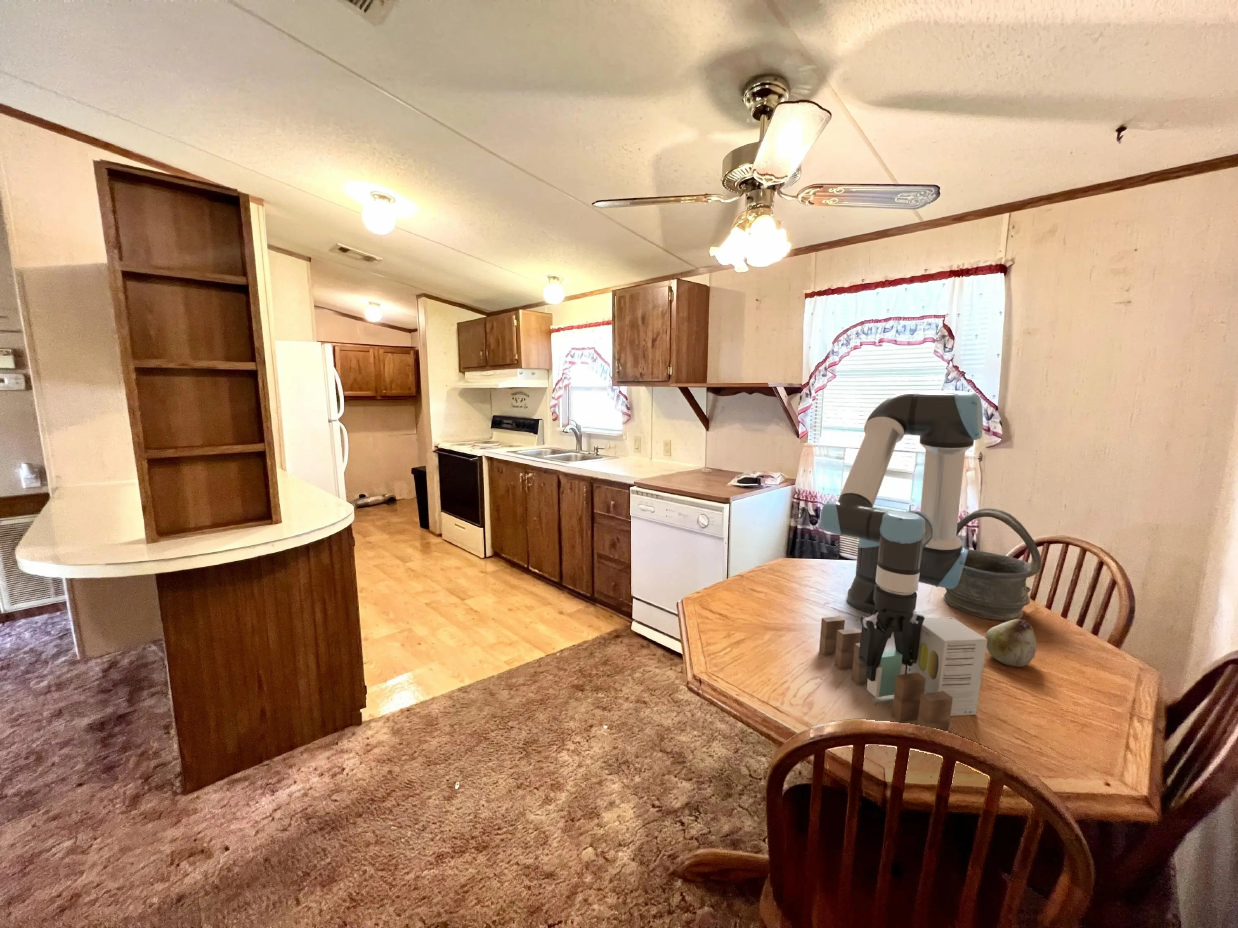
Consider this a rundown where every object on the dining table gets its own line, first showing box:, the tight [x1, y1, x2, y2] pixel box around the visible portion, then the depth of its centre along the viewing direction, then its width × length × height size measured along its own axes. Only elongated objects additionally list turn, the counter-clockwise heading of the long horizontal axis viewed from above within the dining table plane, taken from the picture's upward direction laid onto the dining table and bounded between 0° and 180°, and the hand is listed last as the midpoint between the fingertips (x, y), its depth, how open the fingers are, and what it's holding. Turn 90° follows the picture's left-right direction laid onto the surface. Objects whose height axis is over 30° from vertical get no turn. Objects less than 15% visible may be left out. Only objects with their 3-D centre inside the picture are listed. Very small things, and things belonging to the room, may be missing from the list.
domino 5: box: [916, 691, 953, 732], centre depth 89 cm, size 5×2×9 cm, turn 102°
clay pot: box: [943, 507, 1043, 622], centre depth 142 cm, size 22×23×30 cm
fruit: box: [984, 618, 1038, 668], centre depth 114 cm, size 10×9×12 cm
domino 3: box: [851, 643, 868, 687], centre depth 106 cm, size 5×2×9 cm, turn 102°
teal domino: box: [878, 649, 902, 698], centre depth 100 cm, size 5×2×9 cm, turn 102°
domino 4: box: [891, 672, 926, 723], centre depth 95 cm, size 5×2×9 cm, turn 102°
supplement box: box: [907, 616, 987, 717], centre depth 99 cm, size 10×9×17 cm
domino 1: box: [818, 615, 846, 657], centre depth 118 cm, size 5×2×9 cm, turn 102°
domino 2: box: [834, 627, 861, 671], centre depth 112 cm, size 5×2×9 cm, turn 102°
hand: (884, 691), depth 101 cm, fingers closed on teal domino, 5 cm apart
